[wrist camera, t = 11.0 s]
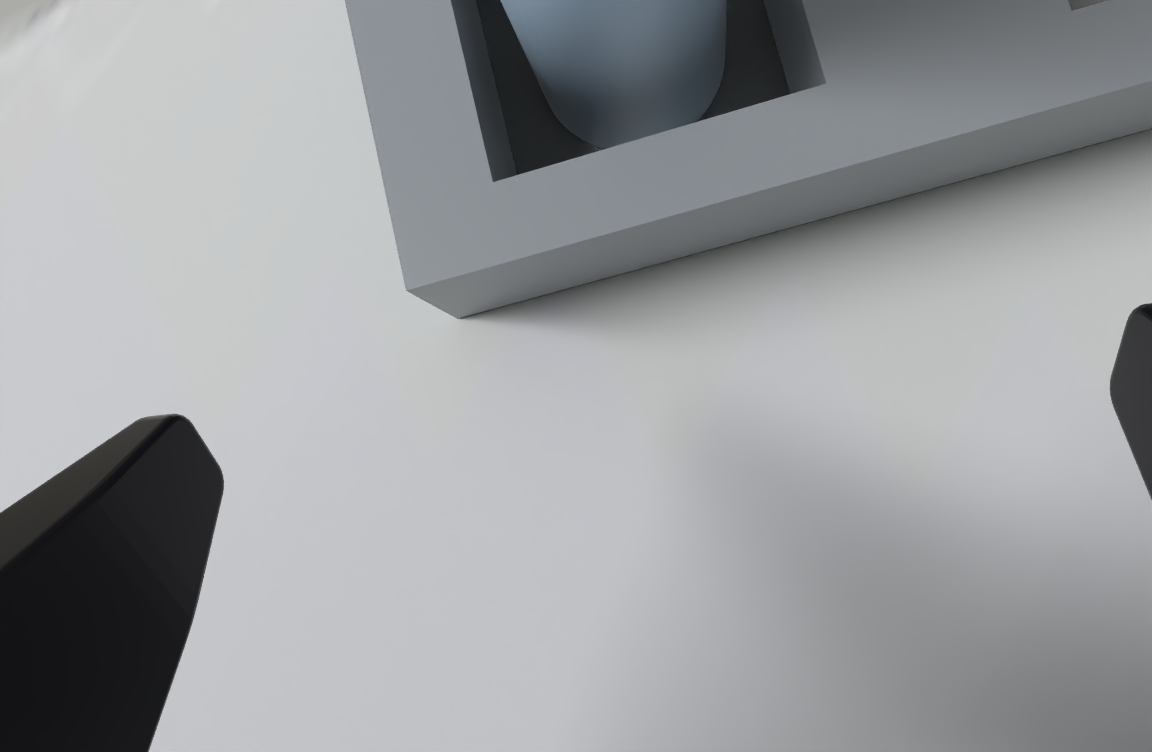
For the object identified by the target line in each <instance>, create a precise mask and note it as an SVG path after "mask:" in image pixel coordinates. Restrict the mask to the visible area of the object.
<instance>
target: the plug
mask: <svg viewBox="0 0 1152 752" xmlns="http://www.w3.org/2000/svg"><path fill="white" fill-rule="evenodd" d="M500 1H501V3H502V5H503V7H504V9H505V11H506V14H507V16H508V18H509V20H510V22H511V24H512V26H513V29H514V31H515V33H516V35H517V37H518V39H519V41H520V44H521V46H522V48H523V50H524V52H525V54H526V57H527V59H528V61H529V63H530V65H531V67H532V69H533V72H534V74H535V76H536V78H537V80H538V82H539V84H540V87H541V89H542V91H543V93H544V95H545V97H546V99H547V102H548V104H549V106H550V107H551V109H552V111H553V113H554V114H555V116H556V117H557V119H558V120H559V121H560V122H561V123H562V124H563V125H564V126H565V128H566V129H568V130H569V131H570V132H571V133H573V134H574V135H575V136H577V137H578V138H580V139H582V140H583V141H585V142H587V143H589V144H592V145H594V146H597V147H600V148H604V149H607V148H610V147H614V146H617V145H621V144H624V143H627V142H631V141H634V140H637V139H641V138H644V137H648V136H651V135H654V134H658V133H661V132H664V131H668V130H671V129H675V128H678V127H681V126H685V125H688V124H691V123H695V122H697V121H698V120H699V119H700V118H701V117H702V115H703V114H704V113H705V112H706V111H707V109H708V108H709V106H710V105H711V103H712V102H713V100H714V98H715V96H716V94H717V92H718V90H719V87H720V84H721V81H722V77H723V72H724V67H725V47H726V15H727V0H500Z"/></svg>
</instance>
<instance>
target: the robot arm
mask: <svg viewBox="0 0 1152 752" xmlns="http://www.w3.org/2000/svg"><path fill="white" fill-rule="evenodd" d="M1110 395H1111V400H1112V404H1113V407H1114V409H1115V412H1116V414H1117V417H1118V419H1119V421H1120V424H1121V426H1122V429H1123V431H1124V434H1125V436H1126V439H1127V441H1128V443H1129V446H1130V448H1131V451H1132V453H1133V456H1134V458H1135V460H1136V463H1137V465H1138V468H1139V470H1140V473H1141V475H1142V477H1143V480H1144V482H1145V485H1146V487H1147V490H1148V492H1149V495H1150V497H1151V499H1152V303H1150V304H1143V305H1141V306H1139V307H1137V308H1136V309H1134V310H1133V311H1132V313H1131V314H1130V315H1129V318H1128V320H1127V323H1126V326H1125V330H1124V333H1123V337H1122V340H1121V344H1120V347H1119V350H1118V354H1117V357H1116V361H1115V364H1114V368H1113V371H1112V375H1111V380H1110ZM223 490H224V480H223V474H222V471H221V468H220V466H219V465H218V463H217V461H216V460H215V458H214V457H213V455H212V454H211V452H210V451H209V449H208V447H207V446H206V444H205V443H204V441H203V440H202V438H201V437H200V435H199V433H198V432H197V430H196V429H195V427H194V426H193V424H192V423H191V422H190V420H188V419H187V418H186V417H184V416H183V415H179V414H167V415H158V416H149V417H144V418H141V419H139V420H137V421H135V422H134V423H132V424H131V425H129V426H128V427H126V428H125V429H123V430H122V431H121V432H119V433H118V434H116V435H115V436H113V437H112V438H110V439H109V440H107V441H106V442H104V443H103V444H101V445H100V446H98V447H97V448H95V449H94V450H92V451H91V452H89V453H88V454H87V455H85V456H84V457H82V458H81V459H79V460H78V461H76V462H75V463H73V464H72V465H70V466H69V467H67V468H66V469H64V470H63V471H61V472H60V473H58V474H57V475H55V476H54V477H53V478H51V479H50V480H48V481H47V482H45V483H44V484H42V485H41V486H39V487H38V488H36V489H35V490H33V491H32V492H30V493H29V494H27V495H26V496H24V497H23V498H21V499H20V500H18V501H17V502H16V503H14V504H13V505H11V506H10V507H8V508H7V509H5V510H4V511H2V512H1V513H0V752H149V749H150V746H151V743H152V740H153V737H154V734H155V732H156V729H157V726H158V723H159V720H160V717H161V714H162V711H163V708H164V705H165V702H166V700H167V697H168V694H169V691H170V688H171V685H172V682H173V679H174V676H175V673H176V670H177V668H178V665H179V662H180V659H181V656H182V653H183V650H184V647H185V644H186V641H187V638H188V635H189V632H190V628H191V625H192V622H193V618H194V615H195V611H196V607H197V603H198V599H199V595H200V591H201V586H202V582H203V578H204V573H205V569H206V565H207V560H208V556H209V552H210V547H211V543H212V539H213V534H214V530H215V526H216V521H217V517H218V513H219V508H220V504H221V500H222V495H223Z"/></svg>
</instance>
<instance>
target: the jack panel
mask: <svg viewBox="0 0 1152 752" xmlns="http://www.w3.org/2000/svg"><path fill="white" fill-rule="evenodd" d="M763 1H764V5H765V8H766V12H767V15H768V19H769V22H770V25H771V29H772V32H773V36H774V39H775V43H776V46H777V50H778V53H779V56H780V60H781V63H782V67H783V70H784V74H785V77H786V81H787V84H788V88H789V91H790V94H789V95H786V96H782V97H779V98H776V99H772V100H769V101H766V102H762V103H759V104H755V105H752V106H749V107H745V108H742V109H739V110H735V111H732V112H728V113H725V114H722V115H718V116H715V117H712V118H708V119H705V120H701V121H698V122H695V123H691V124H688V125H685V126H681V127H678V128H675V129H671V130H668V131H664V132H661V133H658V134H654V135H651V136H648V137H644V138H641V139H637V140H634V141H631V142H627V143H624V144H621V145H617V146H614V147H610V148H607V149H604V150H600V151H597V152H594V153H590V154H587V155H583V156H580V157H577V158H573V159H570V160H567V161H563V162H560V163H556V164H553V165H550V166H546V167H543V168H540V169H536V170H533V171H529V172H526V173H523V174H519V175H517V173H516V168H515V164H514V160H513V156H512V151H511V147H510V143H509V139H508V134H507V130H506V126H505V122H504V117H503V113H502V109H501V105H500V100H499V96H498V92H497V88H496V83H495V79H494V75H493V71H492V66H491V62H490V58H489V54H488V49H487V45H486V41H485V37H484V33H483V28H482V24H481V20H480V16H479V11H478V7H477V3H476V0H345V3H346V8H347V13H348V17H349V22H350V27H351V32H352V36H353V41H354V46H355V50H356V55H357V60H358V65H359V69H360V74H361V79H362V84H363V88H364V93H365V98H366V103H367V107H368V112H369V117H370V122H371V126H372V131H373V136H374V141H375V145H376V150H377V155H378V159H379V164H380V169H381V174H382V178H383V183H384V188H385V193H386V197H387V202H388V207H389V212H390V216H391V221H392V226H393V231H394V235H395V240H396V245H397V250H398V254H399V259H400V264H401V268H402V273H403V278H404V283H405V287H406V291H408V292H410V293H412V294H413V295H415V296H417V297H419V298H421V299H423V300H424V301H426V302H428V303H430V304H432V305H433V306H435V307H437V308H439V309H441V310H443V311H444V312H446V313H448V314H450V315H452V316H454V317H455V318H457V319H458V318H462V317H465V316H469V315H473V314H476V313H480V312H484V311H487V310H491V309H495V308H498V307H502V306H505V305H509V304H513V303H516V302H520V301H524V300H527V299H531V298H535V297H538V296H542V295H546V294H549V293H553V292H557V291H560V290H564V289H568V288H571V287H575V286H579V285H582V284H586V283H589V282H593V281H597V280H600V279H604V278H608V277H611V276H615V275H619V274H622V273H626V272H630V271H633V270H637V269H641V268H644V267H648V266H652V265H655V264H659V263H662V262H666V261H670V260H673V259H677V258H681V257H684V256H688V255H692V254H695V253H699V252H703V251H706V250H710V249H714V248H717V247H721V246H725V245H728V244H732V243H736V242H739V241H743V240H746V239H750V238H754V237H757V236H761V235H765V234H768V233H772V232H776V231H779V230H783V229H787V228H790V227H794V226H798V225H801V224H805V223H809V222H812V221H816V220H820V219H823V218H827V217H830V216H834V215H838V214H841V213H845V212H849V211H852V210H856V209H860V208H863V207H867V206H871V205H874V204H878V203H882V202H885V201H889V200H893V199H896V198H900V197H904V196H907V195H911V194H914V193H918V192H922V191H925V190H929V189H933V188H936V187H940V186H944V185H947V184H951V183H955V182H958V181H962V180H966V179H969V178H973V177H977V176H980V175H984V174H988V173H991V172H995V171H998V170H1002V169H1006V168H1009V167H1013V166H1017V165H1020V164H1024V163H1028V162H1031V161H1035V160H1039V159H1042V158H1046V157H1050V156H1053V155H1057V154H1061V153H1064V152H1068V151H1072V150H1075V149H1079V148H1082V147H1086V146H1090V145H1093V144H1097V143H1101V142H1104V141H1108V140H1112V139H1115V138H1119V137H1123V136H1126V135H1130V134H1134V133H1137V132H1141V131H1145V130H1148V129H1152V0H1106V1H1103V2H1100V3H1096V4H1093V5H1089V6H1086V7H1083V8H1079V9H1076V10H1073V11H1072V10H1071V7H1070V4H1069V1H1068V0H763Z"/></svg>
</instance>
